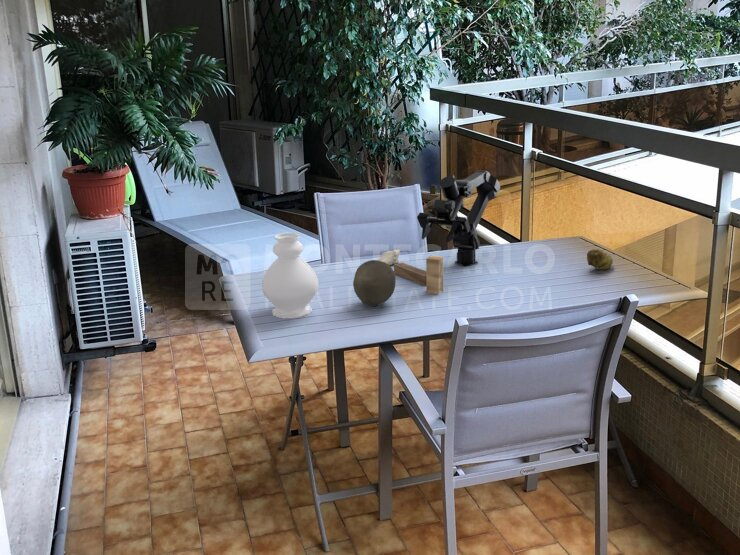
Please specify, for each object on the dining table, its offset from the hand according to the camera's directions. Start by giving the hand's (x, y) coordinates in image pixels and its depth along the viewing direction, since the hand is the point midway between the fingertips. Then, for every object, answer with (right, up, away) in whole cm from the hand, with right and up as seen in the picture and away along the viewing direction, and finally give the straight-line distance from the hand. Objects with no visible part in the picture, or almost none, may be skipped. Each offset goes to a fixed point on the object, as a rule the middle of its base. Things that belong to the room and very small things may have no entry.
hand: (434, 240), depth 255 cm
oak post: (0, -18, -4) cm, 18 cm away
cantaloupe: (-21, -22, -16) cm, 34 cm away
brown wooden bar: (-7, -13, +10) cm, 18 cm away
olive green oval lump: (+62, -10, +15) cm, 65 cm away
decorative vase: (-47, -24, -19) cm, 56 cm away
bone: (-17, -10, +22) cm, 30 cm away
